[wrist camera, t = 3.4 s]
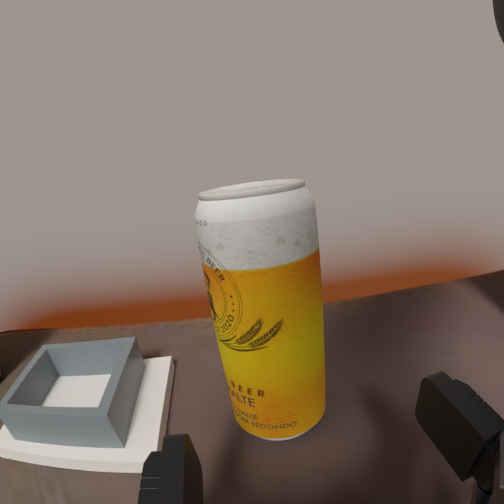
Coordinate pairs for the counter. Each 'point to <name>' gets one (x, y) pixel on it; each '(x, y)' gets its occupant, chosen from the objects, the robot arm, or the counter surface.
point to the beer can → (266, 302)
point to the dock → (88, 407)
